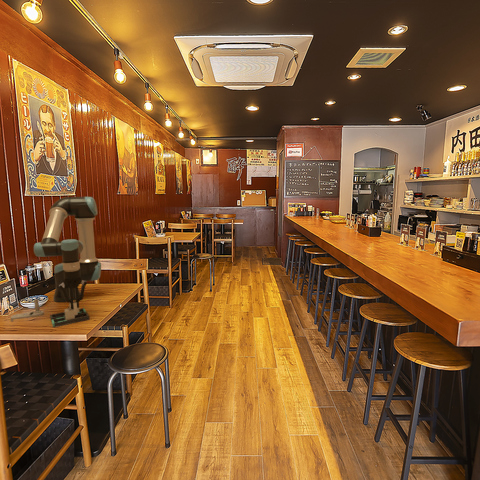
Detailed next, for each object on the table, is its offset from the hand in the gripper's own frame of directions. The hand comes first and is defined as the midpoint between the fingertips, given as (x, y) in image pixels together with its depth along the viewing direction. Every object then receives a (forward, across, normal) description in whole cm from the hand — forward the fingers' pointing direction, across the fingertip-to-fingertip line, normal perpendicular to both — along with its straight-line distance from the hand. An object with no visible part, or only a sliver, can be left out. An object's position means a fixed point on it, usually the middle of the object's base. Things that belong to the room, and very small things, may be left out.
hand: (75, 314), depth 159 cm
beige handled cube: (+3, -3, 0) cm, 4 cm away
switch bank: (+4, -2, +4) cm, 6 cm away
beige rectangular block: (+3, +1, +8) cm, 9 cm away
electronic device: (+5, -20, +21) cm, 30 cm away
